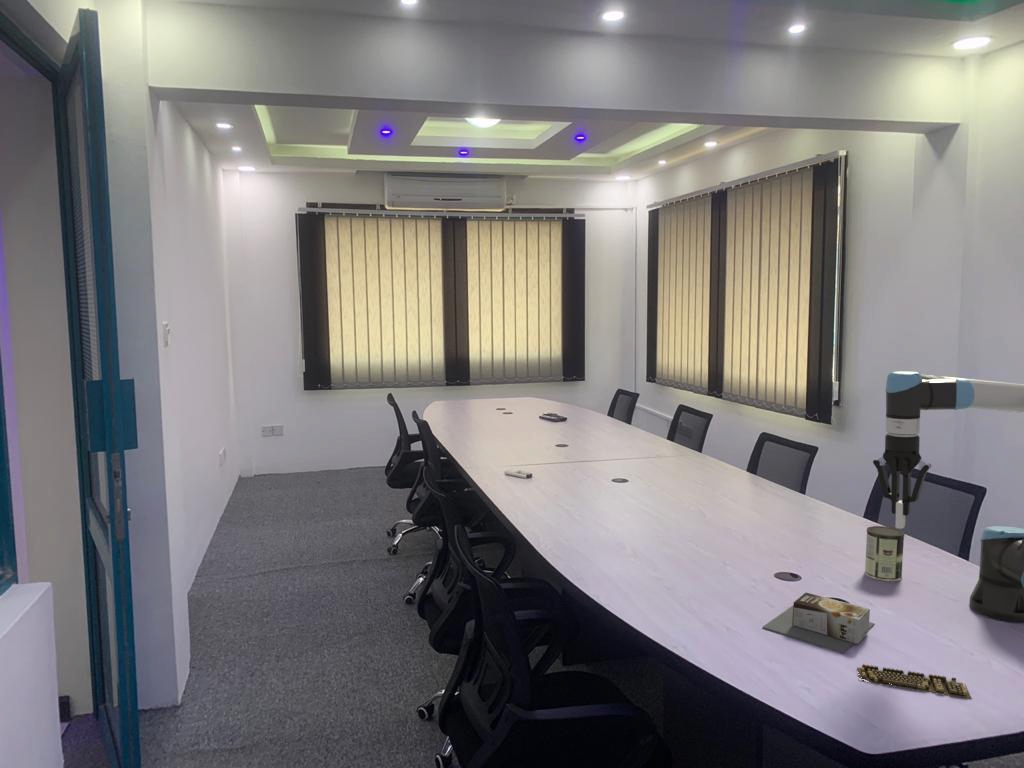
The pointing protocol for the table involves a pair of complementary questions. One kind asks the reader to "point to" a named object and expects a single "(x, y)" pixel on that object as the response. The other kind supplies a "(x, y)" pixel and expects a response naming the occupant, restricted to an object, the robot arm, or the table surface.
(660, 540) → the table surface
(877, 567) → the coffee can
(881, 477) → the robot arm
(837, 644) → the topple mat
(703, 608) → the table surface
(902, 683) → the keyboard
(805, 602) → the coffee box
